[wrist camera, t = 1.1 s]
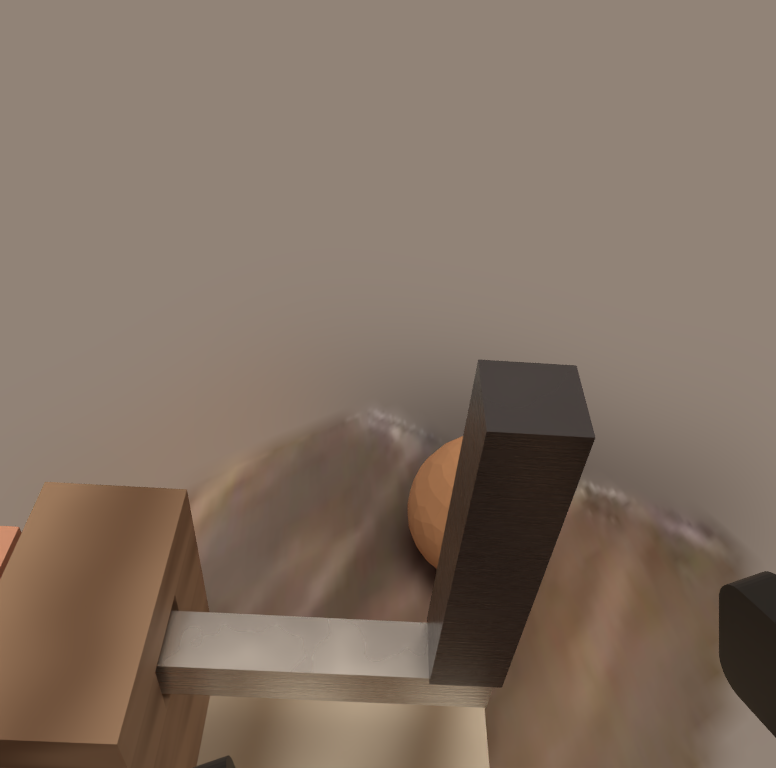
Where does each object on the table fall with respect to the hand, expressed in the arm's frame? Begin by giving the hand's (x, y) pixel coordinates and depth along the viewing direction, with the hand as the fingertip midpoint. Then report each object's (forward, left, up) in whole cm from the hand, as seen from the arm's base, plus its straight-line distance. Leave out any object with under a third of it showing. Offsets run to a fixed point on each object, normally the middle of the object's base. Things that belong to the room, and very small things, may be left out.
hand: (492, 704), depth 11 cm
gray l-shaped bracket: (-7, +7, -14) cm, 17 cm away
